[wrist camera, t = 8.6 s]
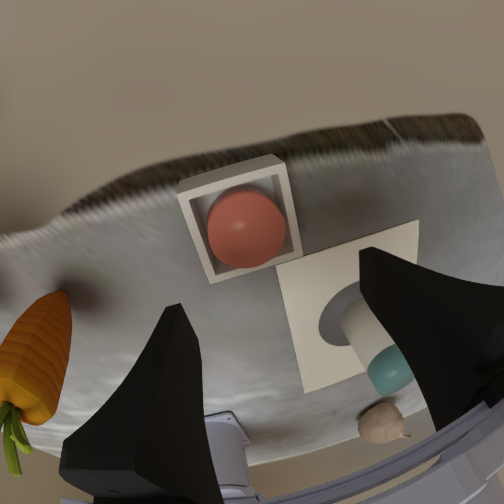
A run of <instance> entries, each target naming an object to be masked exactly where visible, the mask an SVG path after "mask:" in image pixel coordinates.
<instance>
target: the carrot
mask: <svg viewBox="0 0 504 504" xmlns="http://www.w3.org/2000/svg"><path fill="white" fill-rule="evenodd" d="M71 335H72V316H71V309H70V304H69V299H68V295H67V294H66V293H65V292H64V291H55V292H52V293H49V294H46V295H45V296H43V297H41V298H39V299H37V300H36V301H35V302H34V303H33V304H32V305H31V306H30V307H29V308H28V309H27V310H26V311H25V312H24V313H23V314H22V315H21V316H20V317H19V318H18V319H17V321H16V322H15V324H14V325H13V327H12V328H11V330H10V331H9V333H8V334H7V336H6V337H5V339H4V341H3V342H2V344H1V346H0V431H1V428H2V426H3V423H4V430H3V443H4V450H5V457H6V462H7V465H8V470H9V473H11V474H13V475H14V476H16V477H17V476H20V475H22V472H21V468H20V463H19V459H18V454H17V450H16V445H17V446H18V448H19V449H20V450H21V451H23V452H24V453H27V454H30V453H32V452H33V450H32V447H31V445H30V444H29V442H28V439H27V436H26V434H25V431H24V429H23V426H22V424H21V422H23V423H26V424H30V425H35V426H39V425H42V424H44V423H45V422H46V421H48V420H49V419H51V418H52V417H53V415H54V414H55V412H56V410H57V407H58V402H59V398H60V394H61V390H62V386H63V382H64V377H65V373H66V369H67V365H68V361H69V353H70V345H71ZM15 443H16V445H15Z"/></svg>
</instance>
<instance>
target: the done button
mask: <svg viewBox="0 0 504 504" xmlns="http://www.w3.org/2000/svg"><path fill="white" fill-rule="evenodd" d="M207 230H208V239H209V244H210V247H211V249H212V251H213V253H214V254H215V256H216V257H217V258H218V259H219V260H220V261H222V262H223V263H225V264H227V265H229V266H232V267H235V268H242V269H244V268H253V267H257V266H260V265H262V264H264V263H266V262H268V261H269V260H271V259H272V258H273V257H274V256H275V255H276V254H277V253H278V251H279V250H280V248H281V247H282V245H283V242H284V239H285V234H286V226H285V221H284V218H283V216H282V214H281V213H280V211H279V210H278V208H277V207H276V206H275V204H274V203H273V202H272V200H271V199H270V198H269V197H268V196H267V195H266V194H265V193H264V192H262V191H260V190H258V189H256V188H252V187H244V186H242V187H235V188H232V189H229V190H227V191H225V192H223V193H222V194H220V195H219V196H218V197H217V198H216V199H215V200H214V202H213V203H212V205H211V206H210V209H209V211H208V215H207Z"/></svg>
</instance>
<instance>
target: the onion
mask: <svg viewBox="0 0 504 504" xmlns="http://www.w3.org/2000/svg"><path fill="white" fill-rule="evenodd" d="M404 428H405V424H404V418H403V417H402V414H401V413H400V412H399V410H398V408H397V407H396V406H395V405H393V404H390V403H379V404H377V405H376V406H374V407H373V408H371V409H369V410H368V411H367V412H366V413H365V414H364V415H363V416H362V417H361V419H360V422H359V424H358V431H359V434H360V436H361V437H362V438H363V439H364V440H365V441H367V442H369V443H373V444H383V443H385V442H390V441H393V440H395V439H396V438H398V437H400V438H403V439H411V435H410V434H409V435H406V432H405V431H404Z"/></svg>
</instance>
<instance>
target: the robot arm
mask: <svg viewBox="0 0 504 504" xmlns="http://www.w3.org/2000/svg"><path fill="white" fill-rule="evenodd" d="M359 281H360V292H361V294H362V296H363V298H364V299H365V301H366V303H367V305H368V306H369V308H370V310H371V311H372V313H373V314H374V315H375V317H376V318H377V319H378V321H379V322H380V323H381V325H382V326H383V327H384V329H385V330H386V331H387V333H388V334H389V335H390V337H391V338H392V339H393V341H394V342H395V344H396V345H397V346H398V348H399V349H400V351H401V352H402V354H403V356H404V358H405V359H406V361H407V363H408V365H409V367H410V369H411V371H412V372H413V375H414V377H415V379H416V381H417V383H418V385H419V387H420V389H421V392H422V394H423V396H424V399H425V401H426V403H427V406H428V408H429V411H430V414H431V417H432V420H433V422H434V426H435V429H436V433H434V434H433V435H431V436H429V437H428V438H426V439H424V440H422V441H420V442H419V443H417V444H415V445H413V446H411V447H409V448H407V449H405V450H403V451H402V452H399V453H398V454H395V455H393V456H391V457H389V458H387V459H385V460H383V461H380V462H378V463H376V464H374V465H371V466H369V467H367V468H365V469H362V470H359V471H357V472H355V473H352V474H349V475H347V476H344V477H341V478H338V479H335V480H333V481H330V482H327V483H324V484H321V485H318V486H314V487H311V488H308V489H304V490H301V491H297V492H293V493H290V494H285V495H281V496H277V497H273V498H268V499H266V498H265V497H264V496H263V495H262V494H261V493H255V491H254V487H250V482H251V478H250V473H249V469H248V464H247V459H246V454H245V449H244V445H247V444H250V443H251V442H250V439H249V438H248V437H247V435H246V434H245V432H244V431H243V429H242V428H241V426H240V425H239V423H238V422H237V420H236V419H235V417H234V416H233V414H232V413H230V412H226V413H222V414H217V415H213V416H208V417H204V410H203V385H202V360H201V353H200V347H199V341H198V338H197V336H196V334H195V332H194V330H193V328H192V326H191V324H190V322H189V320H188V318H187V315H186V313H185V311H184V309H183V307H182V305H181V303H179V304H175V305H171V306H168V307H166V308H165V310H164V312H163V313H162V315H161V317H160V319H159V321H158V323H157V325H156V327H155V329H154V331H153V333H152V335H151V337H150V338H149V340H148V342H147V344H146V346H145V348H144V349H143V351H142V353H141V354H140V356H139V358H138V360H137V361H136V363H135V365H134V366H133V368H132V369H131V371H130V372H129V374H128V375H127V376H126V378H125V379H124V381H123V382H122V383H121V385H120V386H119V387H118V388H117V390H116V391H115V392H114V393H113V394H112V396H111V397H110V398H109V399H108V400H107V401H106V403H105V404H104V405H103V406H102V407H101V408H100V409H99V410H98V411H97V412H96V413H95V414H94V415H93V416H92V417H91V418H90V419H89V420H88V421H87V422H86V423H85V424H83V425H82V426H81V427H80V428H79V429H77V430H76V431H75V432H74V433H73V434H71V435H70V436H69V437H68V438H66V439H65V440H64V441H63V446H62V452H61V458H60V465H59V474H60V476H61V477H62V478H63V479H64V480H65V481H66V482H68V483H70V484H72V485H73V486H75V487H77V488H79V489H80V490H82V491H84V492H86V493H88V494H90V495H93V496H94V502H93V503H92V502H88V501H83V500H77V499H69V498H64V497H62V498H61V504H333V503H336V502H338V501H341V500H344V499H347V498H350V497H352V496H355V495H357V494H360V493H363V492H365V491H367V490H370V489H372V488H374V487H377V486H379V485H381V484H384V483H386V482H388V481H390V480H392V479H394V478H396V477H398V476H400V475H402V474H404V473H406V472H408V471H410V470H412V469H414V468H416V467H418V466H419V465H421V464H423V463H425V462H426V461H428V460H430V459H431V458H433V457H435V456H437V455H438V454H440V453H442V452H443V451H445V450H446V449H448V448H449V449H448V450H446V451H445V452H444V453H442V454H441V455H440V457H439V459H438V460H437V461H436V462H435V463H434V464H433V465H432V466H431V467H430V468H429V469H428V470H426V471H425V472H423V473H421V474H419V475H417V476H415V477H413V478H411V479H409V480H407V481H405V482H403V483H401V484H399V485H397V486H395V487H393V488H391V489H388V490H386V491H384V492H382V493H380V494H377V495H375V496H373V497H370V498H368V499H366V500H364V501H361V502H358V503H356V504H504V488H503V485H502V484H501V482H500V480H499V478H498V476H497V474H496V472H497V471H498V470H500V469H501V468H502V467H503V466H504V287H503V286H494V285H486V284H480V283H475V282H470V281H465V280H461V279H457V278H454V277H450V276H447V275H444V274H441V273H438V272H435V271H432V270H429V269H427V268H424V267H421V266H419V265H416V264H414V263H411V262H409V261H407V260H404V259H402V258H400V257H397V256H395V255H393V254H390V253H388V252H386V251H383V250H381V249H378V248H375V247H372V246H371V247H368V248H365V249H362V250H359ZM451 446H452V447H451Z"/></svg>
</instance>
